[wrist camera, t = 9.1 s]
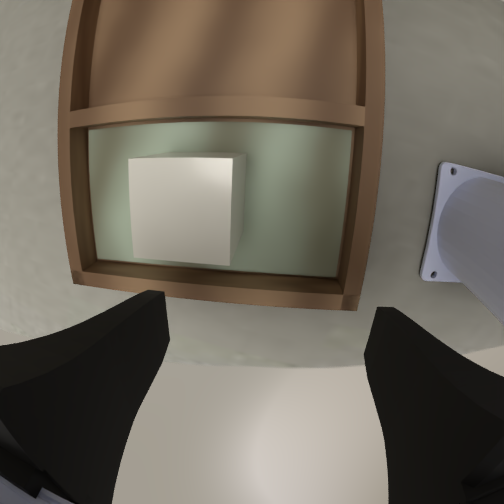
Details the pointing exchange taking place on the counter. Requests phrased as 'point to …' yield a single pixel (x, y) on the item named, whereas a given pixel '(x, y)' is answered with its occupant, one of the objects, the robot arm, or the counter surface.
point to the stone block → (187, 206)
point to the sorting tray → (228, 139)
